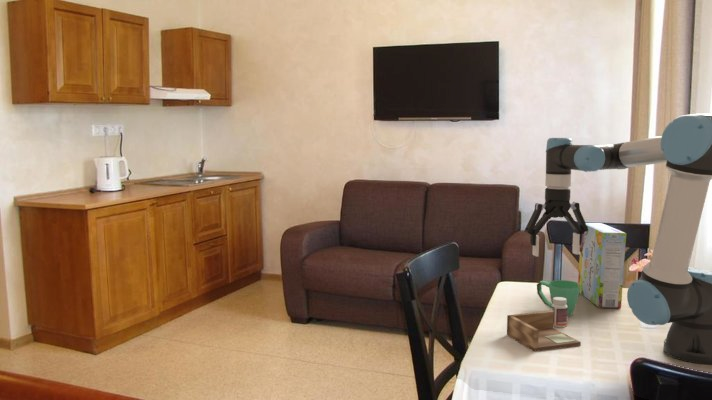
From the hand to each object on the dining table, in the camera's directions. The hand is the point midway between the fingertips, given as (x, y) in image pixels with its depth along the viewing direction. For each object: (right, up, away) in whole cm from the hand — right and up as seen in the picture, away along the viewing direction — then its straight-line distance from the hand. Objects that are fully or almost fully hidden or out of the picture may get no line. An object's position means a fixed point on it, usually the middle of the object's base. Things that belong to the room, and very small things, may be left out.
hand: (555, 254), depth 201 cm
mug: (+3, -20, +8) cm, 21 cm away
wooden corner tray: (-9, -23, -18) cm, 31 cm away
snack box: (+22, -18, +22) cm, 36 cm away
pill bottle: (-1, -21, -5) cm, 22 cm away
